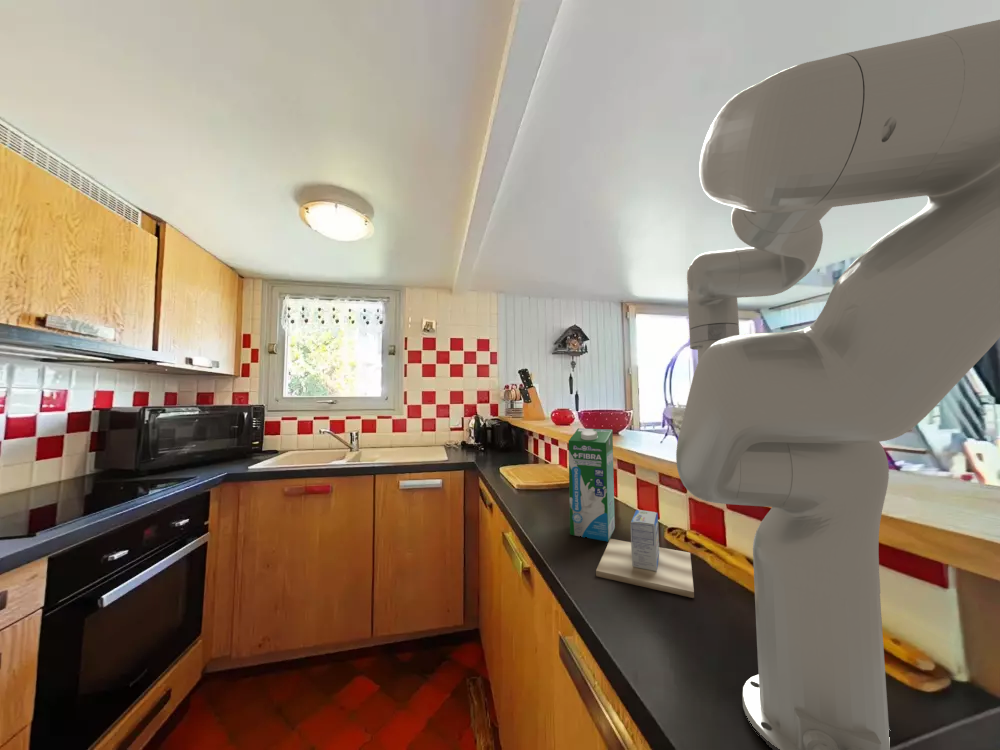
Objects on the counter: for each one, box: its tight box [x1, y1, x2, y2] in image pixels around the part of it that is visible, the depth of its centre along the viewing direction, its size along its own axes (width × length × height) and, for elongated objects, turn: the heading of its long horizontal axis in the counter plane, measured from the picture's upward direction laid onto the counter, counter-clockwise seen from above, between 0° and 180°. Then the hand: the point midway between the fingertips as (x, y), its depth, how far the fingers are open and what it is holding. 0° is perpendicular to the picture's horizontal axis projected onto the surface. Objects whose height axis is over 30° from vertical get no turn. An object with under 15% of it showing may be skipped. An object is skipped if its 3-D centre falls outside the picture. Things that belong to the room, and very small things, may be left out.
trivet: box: [595, 538, 695, 599], centre depth 68 cm, size 16×16×1 cm
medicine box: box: [630, 509, 660, 572], centre depth 69 cm, size 8×4×9 cm, turn 152°
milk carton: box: [568, 428, 616, 543], centre depth 86 cm, size 9×9×25 cm
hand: (719, 436), depth 60 cm, fingers open, 9 cm apart
